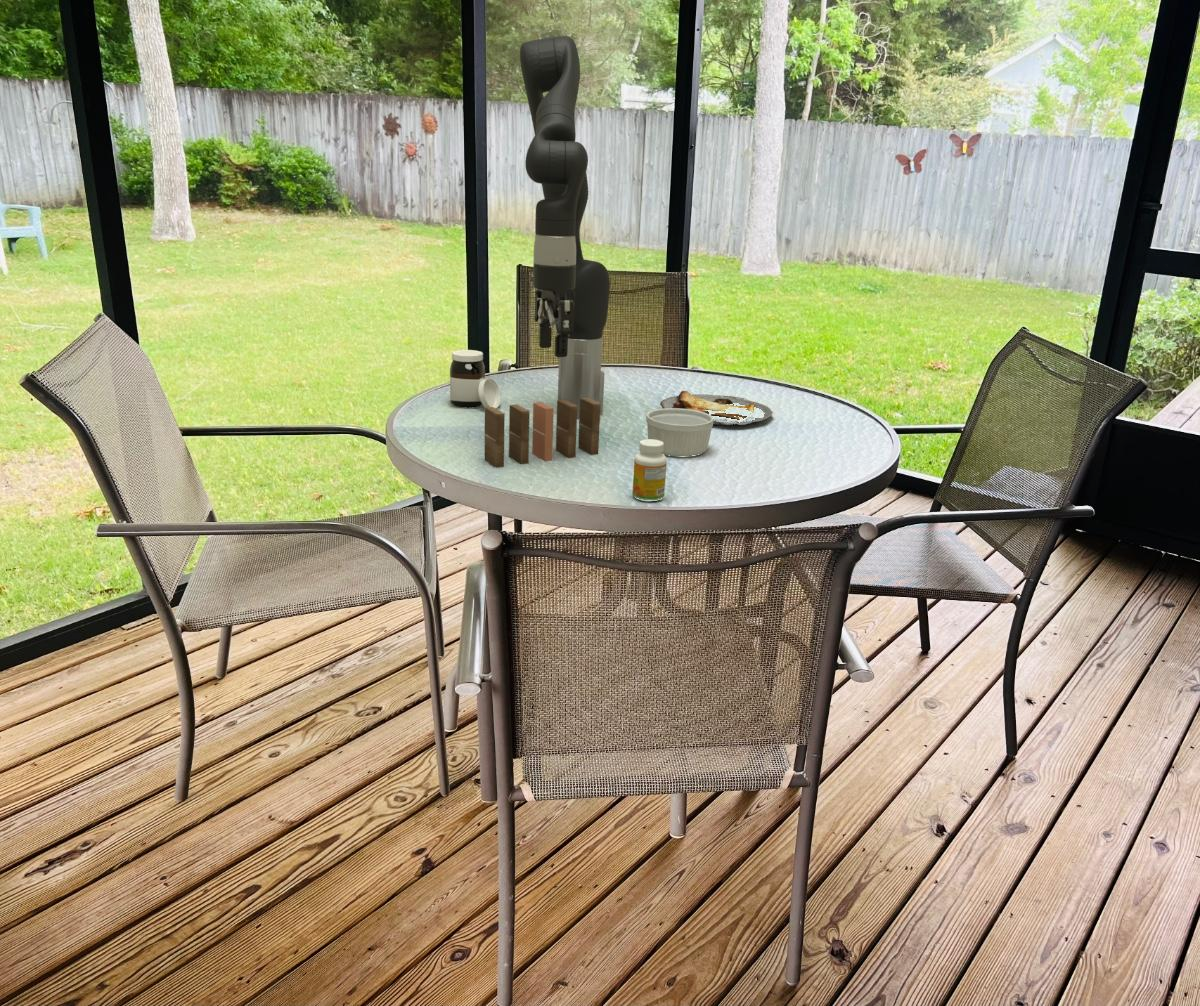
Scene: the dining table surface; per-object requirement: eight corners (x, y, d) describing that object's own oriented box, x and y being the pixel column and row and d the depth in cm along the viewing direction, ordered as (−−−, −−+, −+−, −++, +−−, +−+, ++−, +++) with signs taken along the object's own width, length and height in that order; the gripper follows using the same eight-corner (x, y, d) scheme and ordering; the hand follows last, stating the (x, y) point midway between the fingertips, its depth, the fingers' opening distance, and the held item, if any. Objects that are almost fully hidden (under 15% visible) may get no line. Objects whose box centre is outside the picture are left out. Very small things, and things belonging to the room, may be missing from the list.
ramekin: (633, 443, 191) (635, 409, 189) (690, 438, 196) (693, 405, 194) (662, 462, 180) (665, 427, 177) (723, 457, 185) (726, 422, 182)
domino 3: (539, 452, 182) (540, 402, 178) (552, 460, 178) (553, 408, 174) (532, 453, 181) (533, 402, 177) (544, 461, 177) (545, 409, 173)
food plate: (646, 418, 209) (647, 402, 208) (677, 397, 229) (679, 383, 228) (757, 438, 201) (759, 422, 199) (779, 414, 221) (782, 400, 220)
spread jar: (452, 398, 218) (452, 347, 214) (502, 399, 219) (502, 349, 215) (447, 411, 207) (446, 358, 203) (499, 413, 208) (499, 360, 204)
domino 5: (585, 447, 187) (587, 397, 183) (598, 454, 183) (600, 403, 179) (578, 448, 186) (579, 398, 182) (590, 455, 182) (593, 404, 178)
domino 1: (492, 459, 177) (492, 406, 173) (504, 466, 173) (504, 413, 169) (484, 460, 176) (484, 407, 172) (495, 467, 172) (496, 414, 168)
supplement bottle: (630, 491, 163) (633, 437, 160) (661, 492, 163) (665, 438, 160) (634, 502, 158) (637, 446, 155) (666, 503, 158) (670, 447, 155)
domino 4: (563, 449, 184) (564, 399, 181) (575, 457, 180) (577, 405, 177) (555, 450, 183) (557, 400, 180) (568, 458, 179) (570, 406, 176)
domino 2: (516, 455, 179) (517, 404, 176) (528, 463, 175) (529, 410, 172) (508, 456, 178) (509, 405, 175) (520, 464, 174) (521, 411, 171)
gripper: (589, 266, 163) (586, 359, 169) (560, 256, 175) (558, 343, 181) (548, 266, 160) (546, 361, 166) (522, 256, 172) (521, 345, 178)
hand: (552, 352), depth 173 cm, fingers open, 8 cm apart
